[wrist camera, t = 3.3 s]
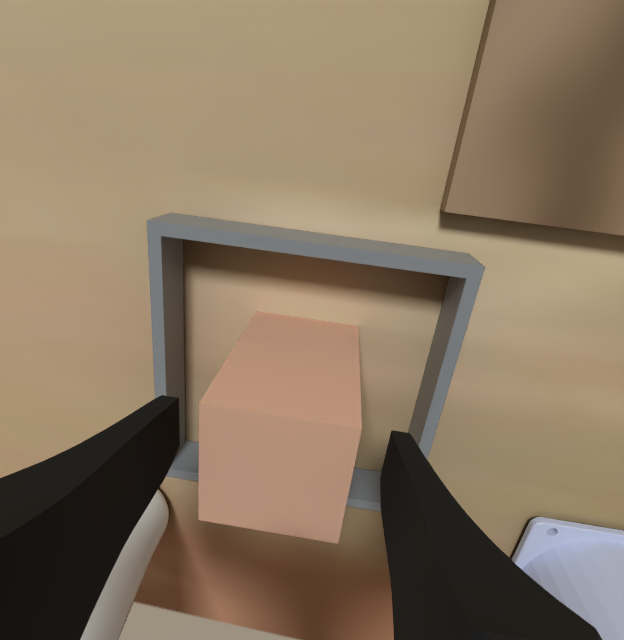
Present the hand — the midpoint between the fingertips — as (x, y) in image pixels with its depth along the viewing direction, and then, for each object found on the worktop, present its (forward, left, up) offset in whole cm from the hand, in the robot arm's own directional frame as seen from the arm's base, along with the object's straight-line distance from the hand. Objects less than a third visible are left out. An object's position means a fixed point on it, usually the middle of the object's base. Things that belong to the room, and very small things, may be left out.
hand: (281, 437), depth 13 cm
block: (0, 0, -5) cm, 5 cm away
